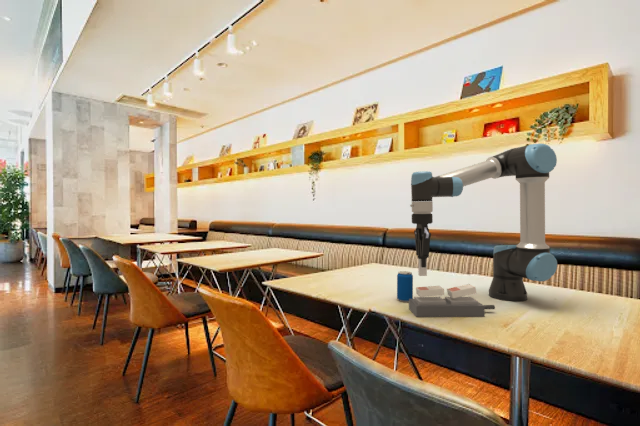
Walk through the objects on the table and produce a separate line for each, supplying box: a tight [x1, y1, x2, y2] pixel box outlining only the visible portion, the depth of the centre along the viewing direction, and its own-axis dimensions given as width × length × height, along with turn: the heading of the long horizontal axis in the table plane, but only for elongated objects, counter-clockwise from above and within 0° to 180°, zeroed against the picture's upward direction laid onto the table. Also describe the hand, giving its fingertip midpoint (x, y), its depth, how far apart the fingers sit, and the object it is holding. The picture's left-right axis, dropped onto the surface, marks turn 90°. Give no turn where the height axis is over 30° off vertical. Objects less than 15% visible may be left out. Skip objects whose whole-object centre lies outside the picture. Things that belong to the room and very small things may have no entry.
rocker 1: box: [415, 285, 445, 297], centre depth 133 cm, size 9×5×2 cm, turn 91°
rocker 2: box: [446, 283, 477, 298], centre depth 133 cm, size 9×5×2 cm, turn 91°
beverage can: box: [396, 270, 414, 303], centre depth 150 cm, size 6×6×12 cm
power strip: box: [408, 296, 496, 318], centre depth 134 cm, size 31×10×5 cm, turn 91°
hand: (422, 275), depth 133 cm, fingers closed
